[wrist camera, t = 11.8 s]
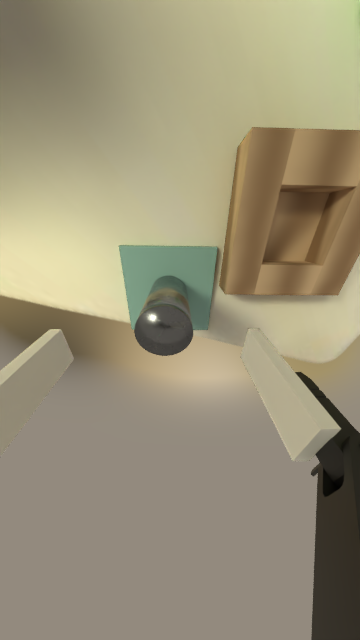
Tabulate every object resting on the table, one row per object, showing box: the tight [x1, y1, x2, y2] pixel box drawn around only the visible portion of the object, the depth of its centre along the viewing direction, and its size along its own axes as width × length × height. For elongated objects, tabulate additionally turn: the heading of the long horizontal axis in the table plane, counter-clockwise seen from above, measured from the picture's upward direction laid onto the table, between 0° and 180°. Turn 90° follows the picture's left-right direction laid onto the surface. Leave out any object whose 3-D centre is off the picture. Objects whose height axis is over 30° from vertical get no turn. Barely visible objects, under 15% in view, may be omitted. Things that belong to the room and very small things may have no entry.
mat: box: [119, 245, 217, 330], centre depth 23 cm, size 12×12×1 cm
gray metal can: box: [134, 275, 193, 356], centre depth 18 cm, size 5×5×10 cm
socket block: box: [219, 127, 360, 295], centre depth 18 cm, size 14×14×4 cm
